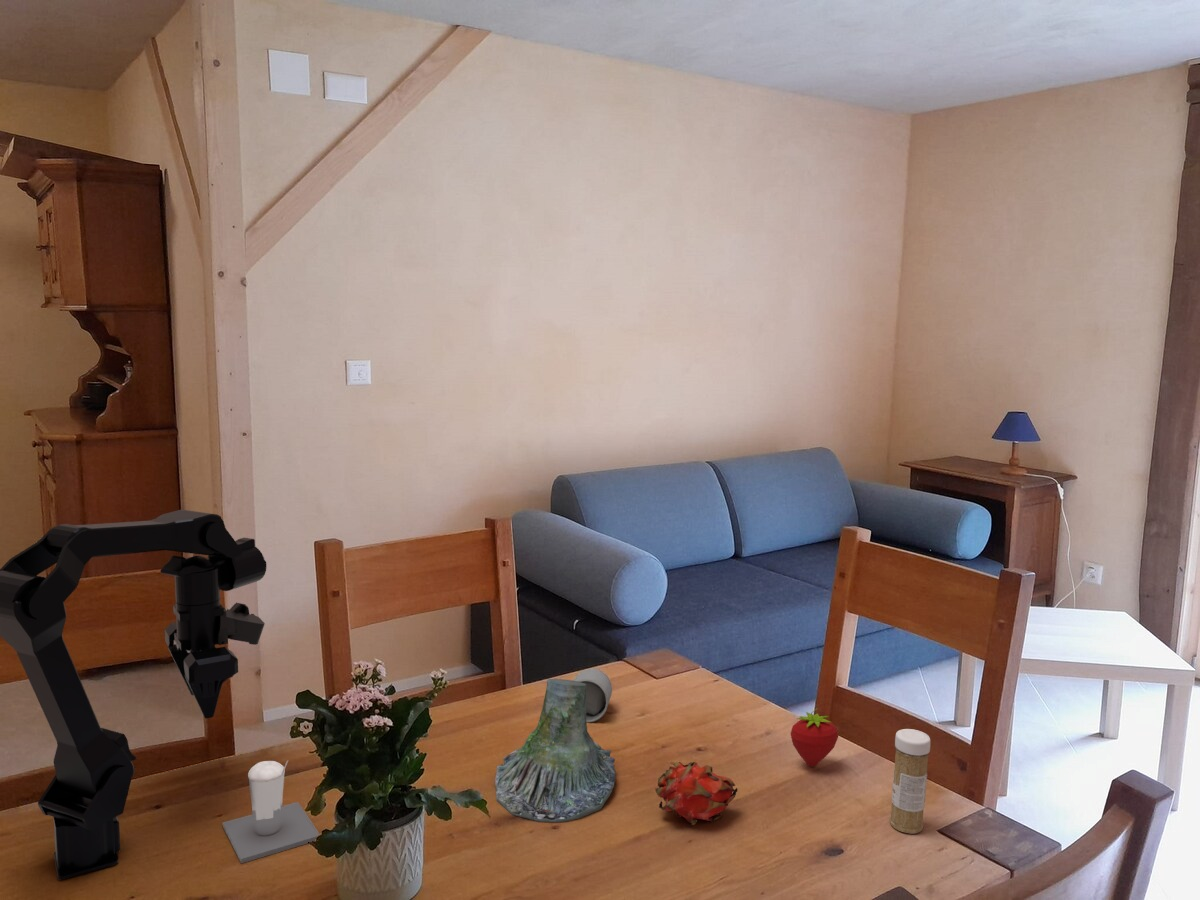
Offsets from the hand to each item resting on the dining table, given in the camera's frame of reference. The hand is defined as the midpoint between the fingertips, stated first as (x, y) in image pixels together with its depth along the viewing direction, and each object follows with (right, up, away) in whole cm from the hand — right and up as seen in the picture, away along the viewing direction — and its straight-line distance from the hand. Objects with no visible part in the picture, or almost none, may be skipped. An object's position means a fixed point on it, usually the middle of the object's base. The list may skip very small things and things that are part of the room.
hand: (202, 705), depth 129 cm
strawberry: (+90, -14, +14) cm, 92 cm away
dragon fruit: (+70, -15, -1) cm, 72 cm away
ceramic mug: (+53, -10, +31) cm, 63 cm away
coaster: (+13, -15, -8) cm, 21 cm away
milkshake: (+13, -14, -9) cm, 21 cm away
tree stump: (+50, -14, +6) cm, 52 cm away
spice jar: (+99, -16, -3) cm, 101 cm away
